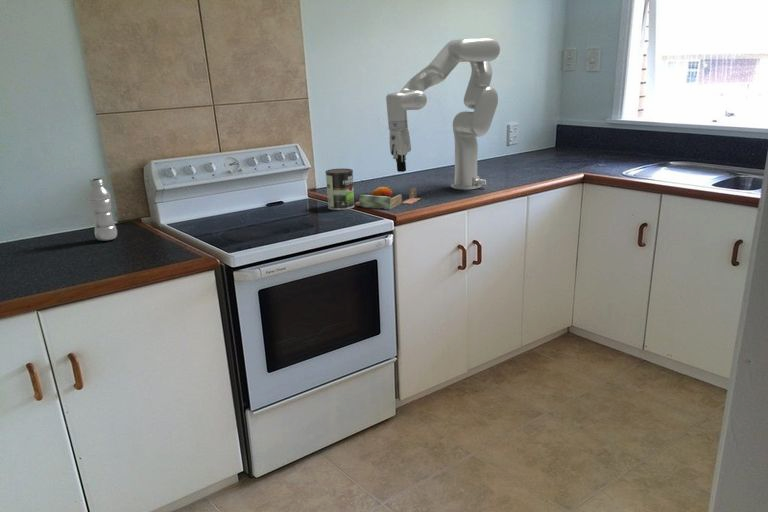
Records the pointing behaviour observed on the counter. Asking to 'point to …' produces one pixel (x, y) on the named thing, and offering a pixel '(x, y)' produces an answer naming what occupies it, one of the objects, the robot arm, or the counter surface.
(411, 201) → the trap marks
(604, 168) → the counter surface
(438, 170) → the counter surface
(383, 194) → the fruit
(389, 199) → the trap box
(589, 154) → the counter surface
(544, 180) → the counter surface
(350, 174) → the coffee can
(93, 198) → the plastic bottle
